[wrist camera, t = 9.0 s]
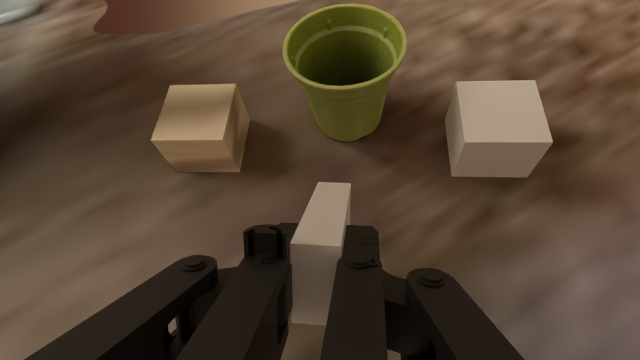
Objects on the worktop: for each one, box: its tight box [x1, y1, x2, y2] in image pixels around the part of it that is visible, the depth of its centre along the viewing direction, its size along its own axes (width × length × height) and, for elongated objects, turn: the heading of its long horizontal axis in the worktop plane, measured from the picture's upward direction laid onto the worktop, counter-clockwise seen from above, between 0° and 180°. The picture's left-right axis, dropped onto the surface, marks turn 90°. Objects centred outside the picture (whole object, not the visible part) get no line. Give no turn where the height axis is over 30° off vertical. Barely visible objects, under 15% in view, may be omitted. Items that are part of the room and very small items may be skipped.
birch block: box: [151, 84, 250, 172], centre depth 34 cm, size 6×6×5 cm
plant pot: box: [283, 4, 407, 141], centre depth 32 cm, size 9×9×9 cm
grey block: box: [445, 80, 553, 177], centre depth 31 cm, size 6×6×5 cm
